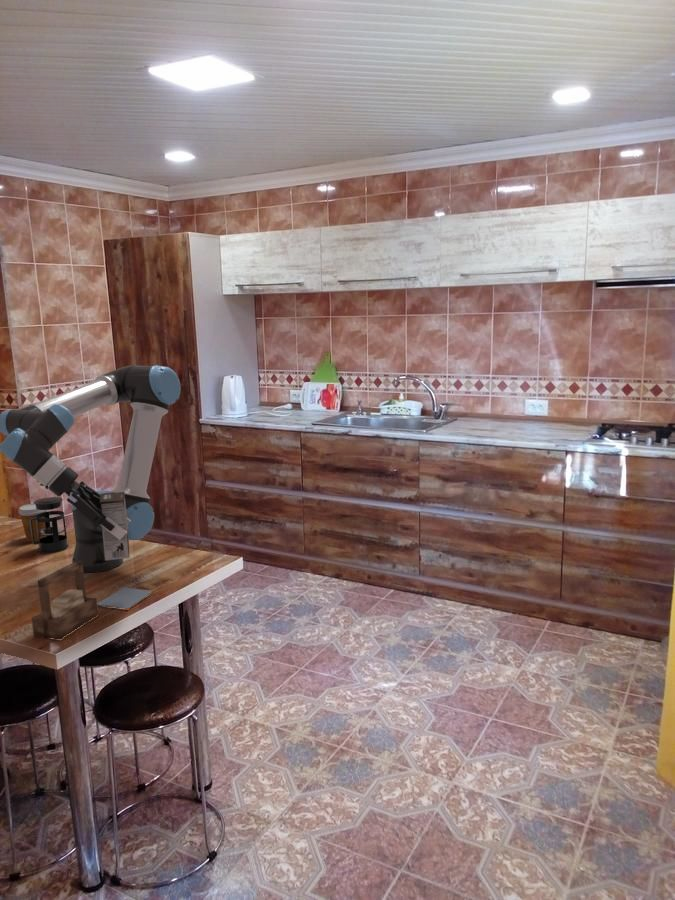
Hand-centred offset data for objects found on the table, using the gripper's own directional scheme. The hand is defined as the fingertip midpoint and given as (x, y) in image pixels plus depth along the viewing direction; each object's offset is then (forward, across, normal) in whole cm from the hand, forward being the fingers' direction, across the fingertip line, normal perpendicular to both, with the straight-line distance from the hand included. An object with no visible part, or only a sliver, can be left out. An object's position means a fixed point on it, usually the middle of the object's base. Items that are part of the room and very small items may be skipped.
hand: (125, 530), depth 180 cm
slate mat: (+13, -1, -15) cm, 20 cm away
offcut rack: (+4, +12, -25) cm, 28 cm away
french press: (-7, -52, -36) cm, 63 cm away
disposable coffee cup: (-13, -64, -42) cm, 78 cm away
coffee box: (+3, 0, -7) cm, 7 cm away
